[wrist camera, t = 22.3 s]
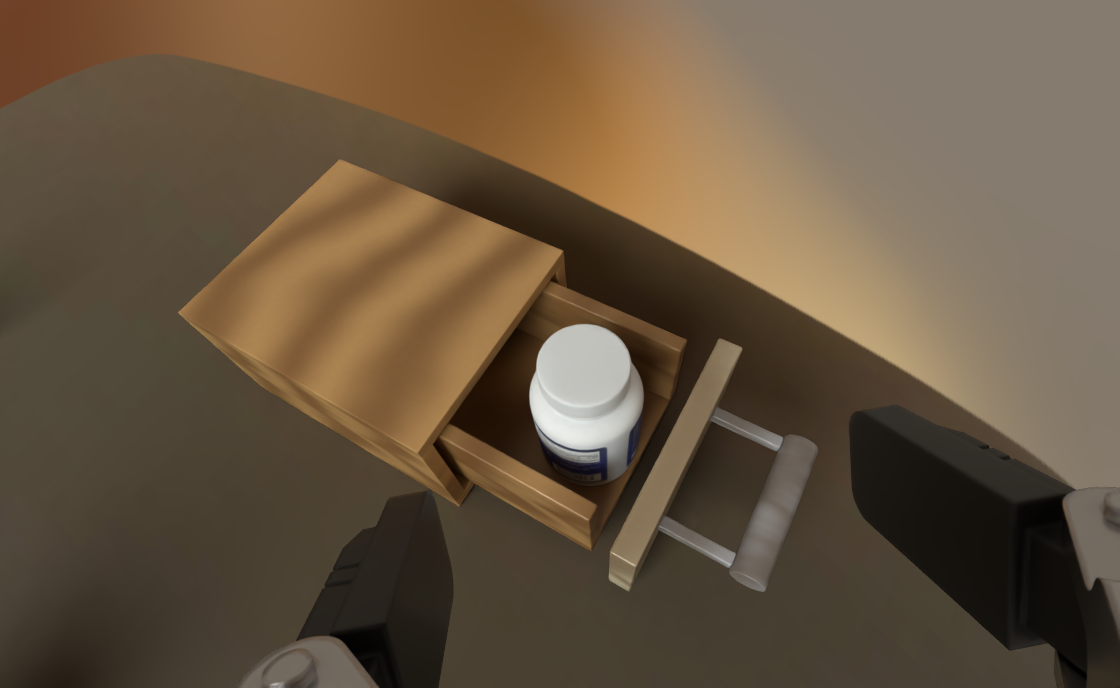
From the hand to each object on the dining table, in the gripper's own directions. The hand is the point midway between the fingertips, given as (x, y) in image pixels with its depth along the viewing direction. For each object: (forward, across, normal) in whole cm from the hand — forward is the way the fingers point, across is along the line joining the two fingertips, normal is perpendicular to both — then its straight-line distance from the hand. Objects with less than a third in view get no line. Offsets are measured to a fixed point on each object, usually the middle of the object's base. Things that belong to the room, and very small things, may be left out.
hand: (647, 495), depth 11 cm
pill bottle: (+20, 0, +8) cm, 21 cm away
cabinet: (+27, +10, +3) cm, 28 cm away
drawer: (+20, -1, +8) cm, 22 cm away
